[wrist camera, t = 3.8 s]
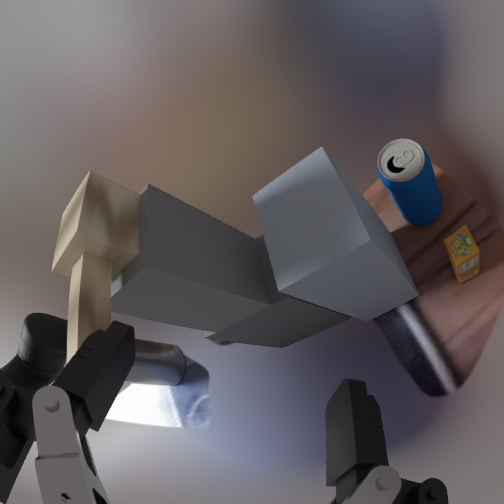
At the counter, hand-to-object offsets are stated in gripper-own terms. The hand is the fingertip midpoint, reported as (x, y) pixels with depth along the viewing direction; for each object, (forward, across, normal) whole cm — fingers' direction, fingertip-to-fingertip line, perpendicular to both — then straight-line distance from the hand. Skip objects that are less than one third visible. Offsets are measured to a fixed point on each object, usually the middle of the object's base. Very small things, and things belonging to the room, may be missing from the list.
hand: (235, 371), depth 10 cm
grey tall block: (+28, +17, -8) cm, 34 cm away
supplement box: (+23, +26, -2) cm, 34 cm away
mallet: (+9, -10, -6) cm, 14 cm away
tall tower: (+30, +9, -17) cm, 36 cm away
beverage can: (+32, +21, +2) cm, 38 cm away
